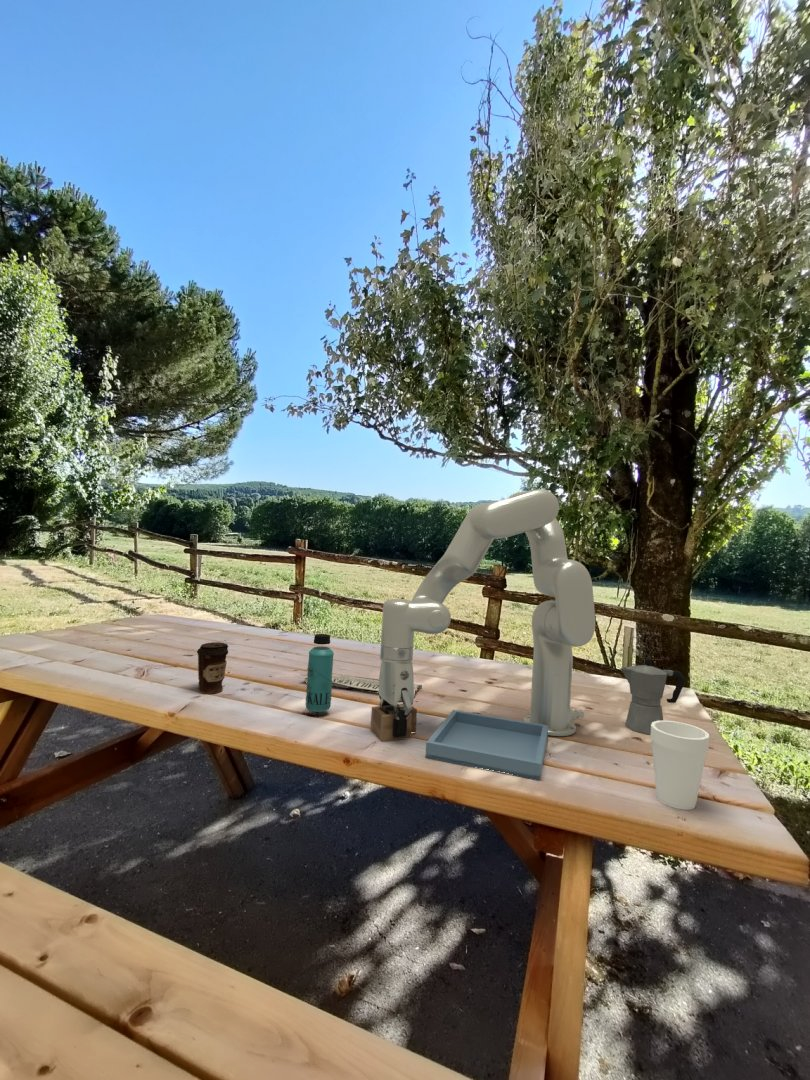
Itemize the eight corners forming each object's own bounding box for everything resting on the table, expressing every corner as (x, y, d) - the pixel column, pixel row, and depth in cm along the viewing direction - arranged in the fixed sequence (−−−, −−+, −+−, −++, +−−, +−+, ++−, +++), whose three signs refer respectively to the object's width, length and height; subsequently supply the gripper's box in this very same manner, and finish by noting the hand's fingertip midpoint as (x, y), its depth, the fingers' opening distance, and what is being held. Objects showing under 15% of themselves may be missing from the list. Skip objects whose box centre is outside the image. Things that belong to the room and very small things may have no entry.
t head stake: (393, 732, 119) (394, 704, 119) (395, 734, 118) (396, 706, 118) (381, 734, 117) (382, 705, 117) (383, 736, 116) (385, 707, 116)
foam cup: (639, 786, 98) (643, 718, 98) (690, 790, 98) (693, 722, 98) (660, 811, 89) (664, 737, 89) (715, 817, 88) (719, 741, 88)
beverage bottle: (318, 707, 133) (323, 631, 133) (336, 714, 129) (340, 635, 129) (299, 713, 128) (303, 633, 128) (316, 720, 124) (321, 637, 124)
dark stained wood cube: (406, 726, 123) (408, 703, 123) (420, 736, 117) (421, 712, 117) (370, 730, 119) (371, 706, 119) (382, 741, 113) (383, 716, 113)
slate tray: (452, 722, 128) (453, 709, 128) (547, 739, 120) (548, 725, 120) (425, 757, 106) (426, 742, 106) (539, 780, 98) (540, 764, 98)
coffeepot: (619, 731, 128) (623, 659, 128) (614, 719, 137) (617, 652, 137) (687, 740, 124) (691, 666, 124) (677, 727, 133) (681, 658, 133)
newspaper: (421, 690, 155) (422, 678, 156) (412, 702, 143) (413, 689, 143) (314, 676, 164) (315, 665, 164) (297, 687, 152) (297, 675, 152)
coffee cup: (233, 691, 143) (236, 644, 143) (208, 697, 136) (211, 649, 136) (213, 684, 148) (216, 640, 148) (188, 691, 141) (190, 644, 141)
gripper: (428, 661, 112) (424, 742, 112) (395, 644, 127) (391, 716, 127) (397, 663, 108) (393, 746, 108) (367, 645, 124) (363, 719, 124)
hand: (392, 729), depth 118 cm, fingers closed on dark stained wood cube, 6 cm apart
